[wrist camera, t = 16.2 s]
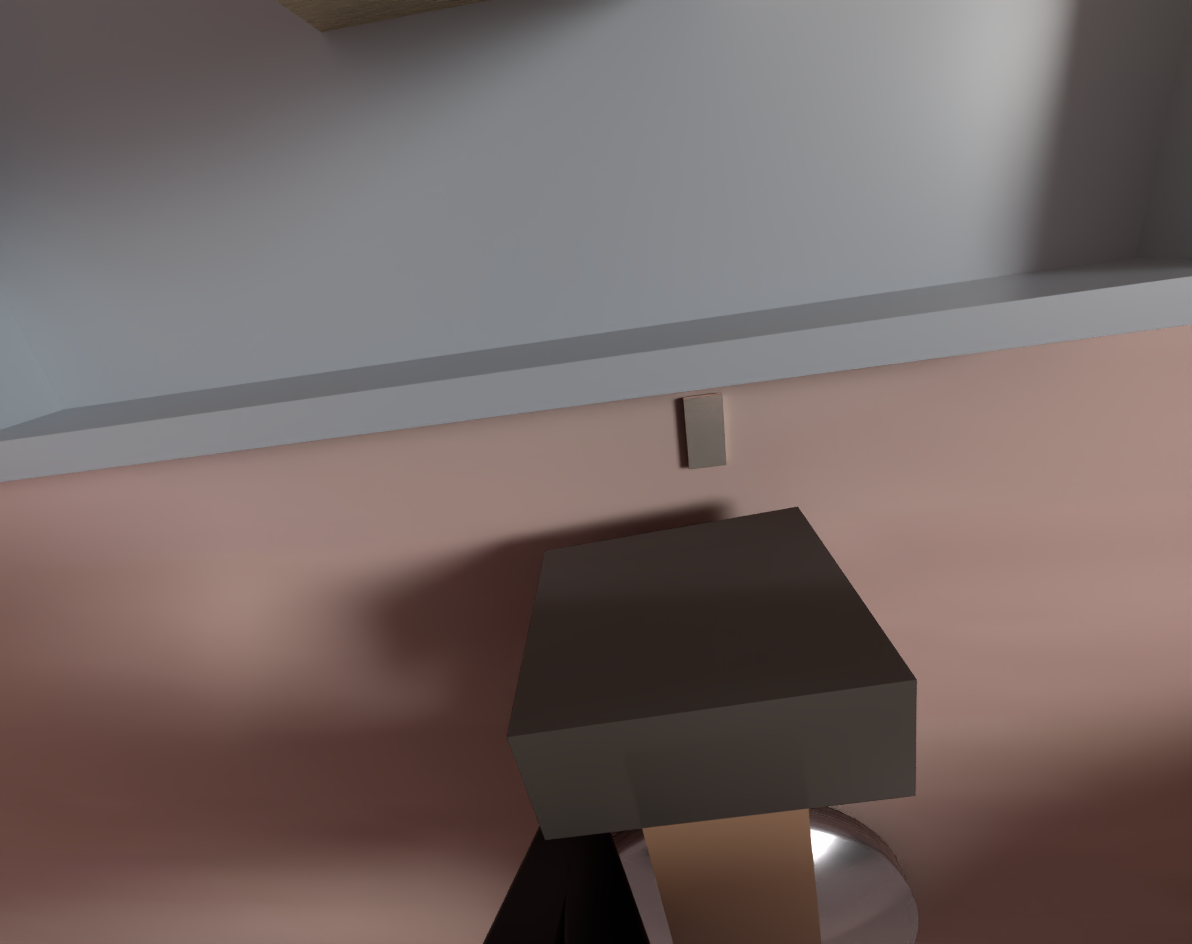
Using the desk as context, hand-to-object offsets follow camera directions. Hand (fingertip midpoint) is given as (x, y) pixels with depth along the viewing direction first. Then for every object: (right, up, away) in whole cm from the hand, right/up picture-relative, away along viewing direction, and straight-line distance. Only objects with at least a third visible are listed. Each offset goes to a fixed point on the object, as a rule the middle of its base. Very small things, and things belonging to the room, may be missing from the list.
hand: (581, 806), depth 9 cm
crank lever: (+3, -2, +3) cm, 4 cm away
